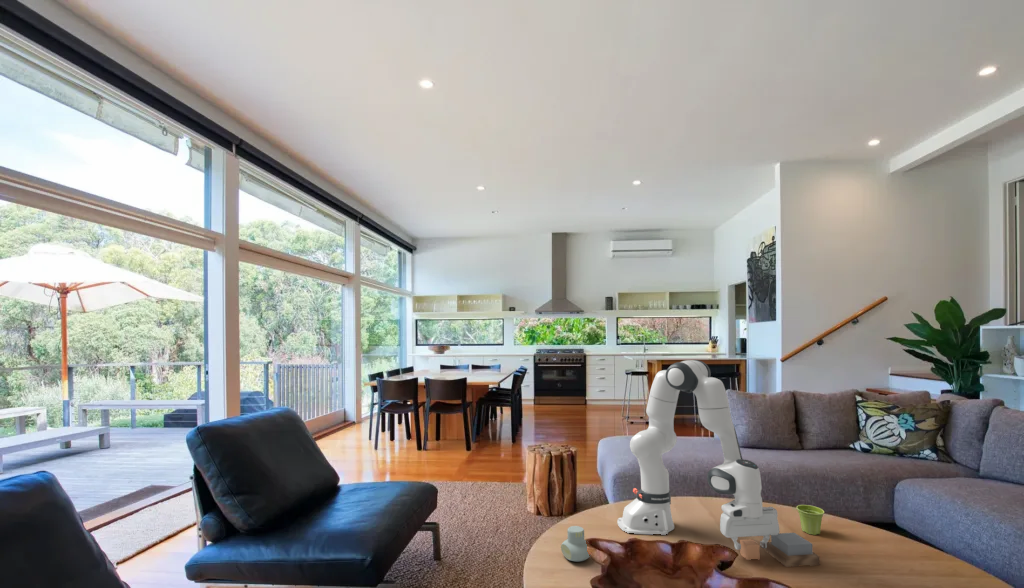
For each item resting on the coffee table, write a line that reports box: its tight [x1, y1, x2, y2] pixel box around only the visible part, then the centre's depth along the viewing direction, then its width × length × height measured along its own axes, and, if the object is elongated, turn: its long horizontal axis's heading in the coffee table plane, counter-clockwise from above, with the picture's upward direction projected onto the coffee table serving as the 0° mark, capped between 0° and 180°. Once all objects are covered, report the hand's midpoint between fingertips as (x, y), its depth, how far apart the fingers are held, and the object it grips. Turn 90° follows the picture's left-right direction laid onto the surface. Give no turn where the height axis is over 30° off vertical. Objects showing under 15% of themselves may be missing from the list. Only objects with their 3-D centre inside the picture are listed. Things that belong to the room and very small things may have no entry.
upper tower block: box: [770, 532, 814, 556], centre depth 172 cm, size 9×9×4 cm
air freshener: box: [560, 525, 591, 563], centre depth 173 cm, size 11×8×10 cm
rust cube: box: [739, 538, 761, 561], centre depth 173 cm, size 4×4×5 cm
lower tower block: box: [764, 541, 821, 568], centre depth 172 cm, size 12×12×4 cm
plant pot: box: [796, 504, 825, 536], centre depth 192 cm, size 9×9×9 cm
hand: (750, 548), depth 172 cm, fingers open, 8 cm apart
